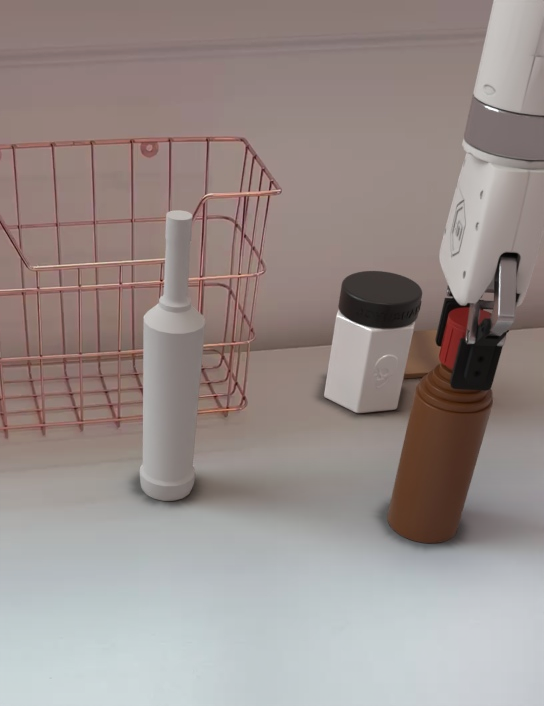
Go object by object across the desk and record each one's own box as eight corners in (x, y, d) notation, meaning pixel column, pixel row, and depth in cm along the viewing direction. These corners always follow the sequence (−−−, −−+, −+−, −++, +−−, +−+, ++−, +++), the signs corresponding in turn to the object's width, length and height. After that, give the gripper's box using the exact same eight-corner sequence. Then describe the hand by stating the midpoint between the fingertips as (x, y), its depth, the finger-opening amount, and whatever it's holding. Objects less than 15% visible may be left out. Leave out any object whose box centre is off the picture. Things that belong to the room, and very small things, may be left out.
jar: (337, 417, 107) (356, 307, 99) (310, 379, 113) (326, 272, 105) (416, 409, 109) (440, 301, 101) (385, 373, 115) (406, 267, 107)
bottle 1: (142, 468, 98) (150, 200, 81) (196, 474, 98) (215, 206, 81) (135, 499, 94) (141, 224, 78) (191, 505, 94) (210, 230, 77)
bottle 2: (440, 499, 97) (491, 306, 84) (468, 540, 92) (526, 342, 80) (377, 505, 96) (418, 310, 83) (402, 546, 91) (450, 347, 78)
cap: (496, 362, 83) (508, 320, 81) (468, 377, 81) (479, 334, 79) (457, 345, 85) (467, 302, 83) (428, 358, 83) (438, 315, 81)
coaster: (447, 333, 123) (448, 328, 123) (483, 373, 116) (484, 368, 116) (369, 337, 121) (370, 333, 121) (400, 379, 114) (401, 374, 114)
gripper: (446, 91, 78) (401, 316, 90) (492, 168, 65) (432, 418, 77) (545, 97, 78) (486, 321, 90) (609, 175, 65) (531, 424, 77)
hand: (461, 364), depth 83 cm, fingers open, 6 cm apart
